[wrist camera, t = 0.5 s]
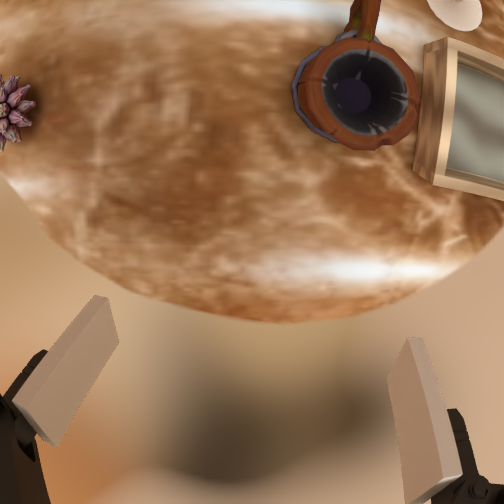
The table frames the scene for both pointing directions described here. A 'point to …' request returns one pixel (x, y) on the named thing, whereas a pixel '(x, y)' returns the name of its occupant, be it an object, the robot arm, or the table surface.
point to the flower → (13, 110)
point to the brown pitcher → (357, 86)
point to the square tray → (461, 119)
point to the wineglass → (458, 13)
